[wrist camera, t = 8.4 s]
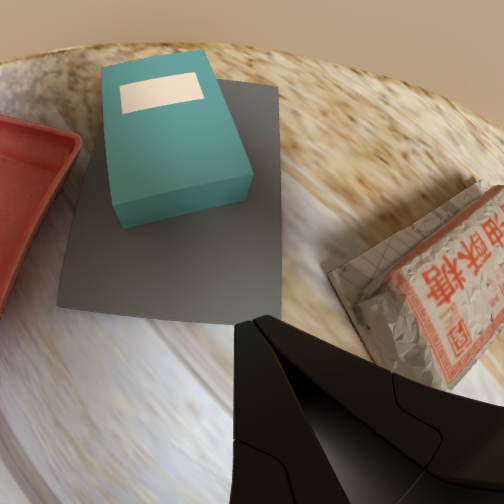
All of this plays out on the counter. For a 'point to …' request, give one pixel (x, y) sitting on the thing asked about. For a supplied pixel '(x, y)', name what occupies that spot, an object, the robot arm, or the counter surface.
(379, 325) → the packaged product
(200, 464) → the counter surface
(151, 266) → the mat
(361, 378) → the robot arm
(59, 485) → the counter surface
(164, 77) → the box
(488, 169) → the counter surface
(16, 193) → the plant saucer
